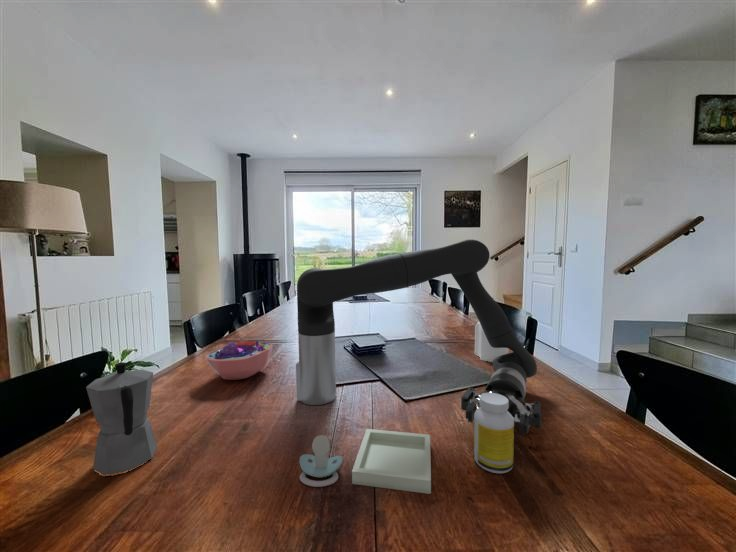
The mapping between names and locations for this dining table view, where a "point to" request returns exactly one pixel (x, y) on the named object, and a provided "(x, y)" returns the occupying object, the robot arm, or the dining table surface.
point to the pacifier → (319, 464)
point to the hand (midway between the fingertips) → (494, 423)
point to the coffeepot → (122, 419)
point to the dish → (394, 461)
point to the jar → (486, 346)
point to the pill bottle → (494, 434)
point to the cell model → (239, 359)
